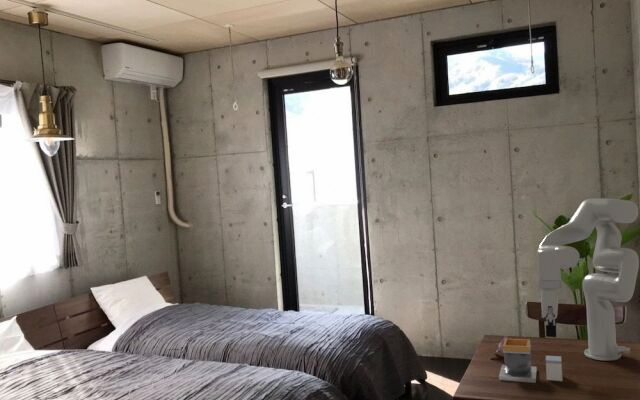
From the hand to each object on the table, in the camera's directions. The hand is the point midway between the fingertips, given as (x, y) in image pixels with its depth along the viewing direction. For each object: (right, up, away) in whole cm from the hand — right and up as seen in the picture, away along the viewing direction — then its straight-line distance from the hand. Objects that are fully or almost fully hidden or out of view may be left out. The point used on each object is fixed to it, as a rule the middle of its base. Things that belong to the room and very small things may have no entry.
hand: (551, 332), depth 197 cm
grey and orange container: (-9, -17, +6) cm, 20 cm away
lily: (-9, -16, +26) cm, 32 cm away
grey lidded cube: (+2, -16, +1) cm, 16 cm away
